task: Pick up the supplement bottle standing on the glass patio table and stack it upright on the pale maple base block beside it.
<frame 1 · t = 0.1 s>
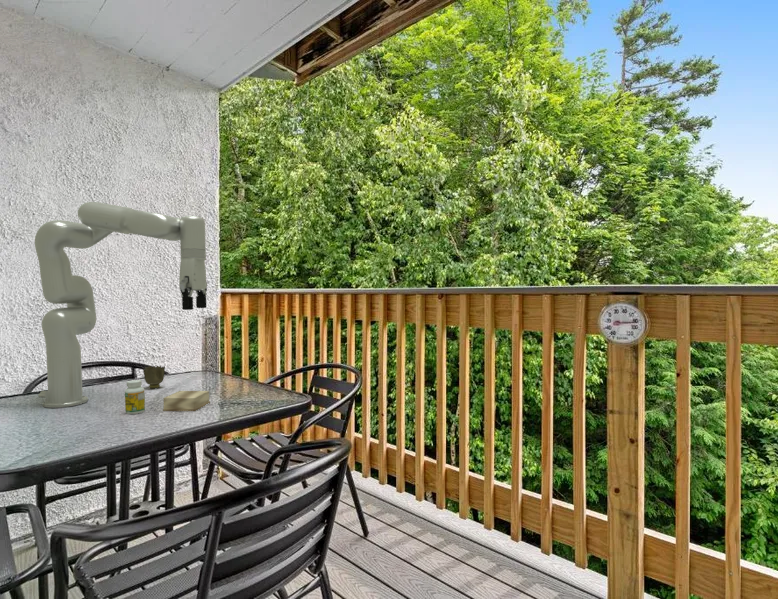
hand: (194, 308, 160), 31 cm above the table, tool pointing down, fingers open, 9 cm apart
supplement bottle: (135, 413, 153), on the table
cup: (154, 388, 188), on the table
base block: (187, 406, 159), on the table
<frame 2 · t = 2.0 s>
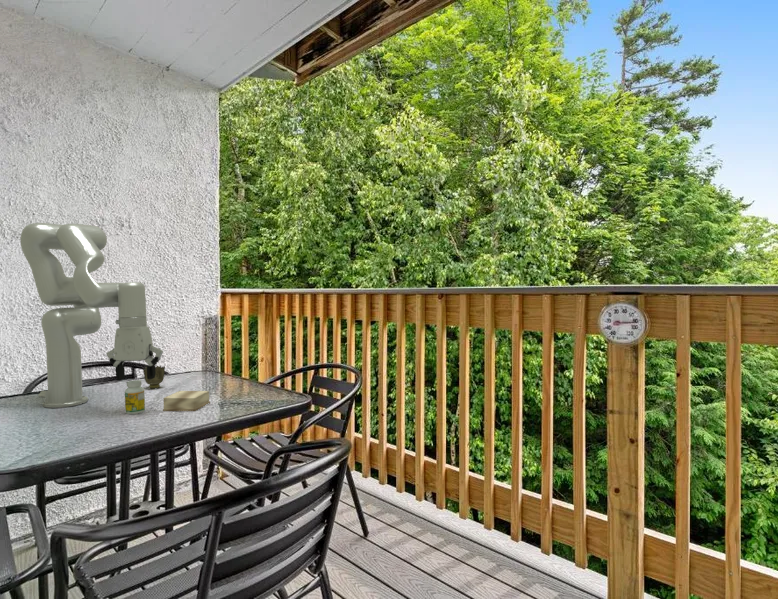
hand: (136, 379, 152), 10 cm above the table, tool pointing down, fingers open, 9 cm apart
nothing on the table moved.
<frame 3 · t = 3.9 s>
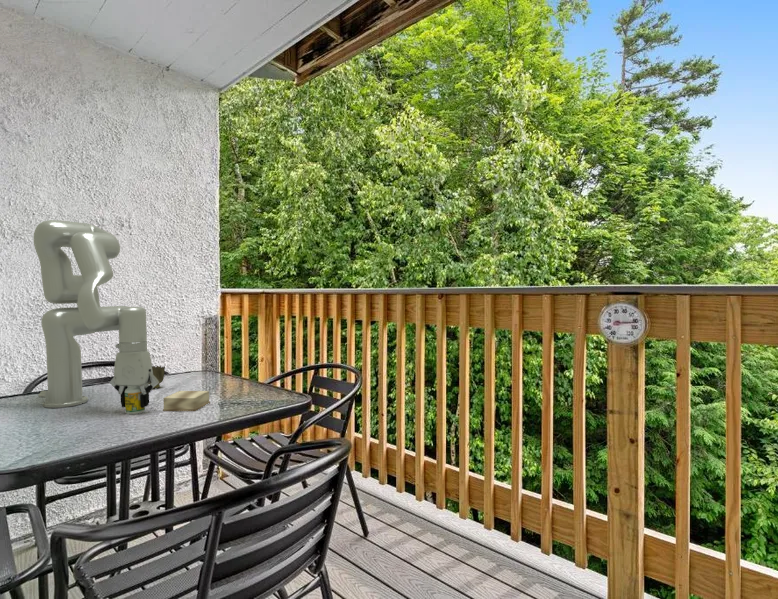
hand: (135, 405, 153), 2 cm above the table, tool pointing down, fingers closed on supplement bottle, 5 cm apart
supplement bottle: (135, 413, 153), on the table, touching gripper
everything else where it was.
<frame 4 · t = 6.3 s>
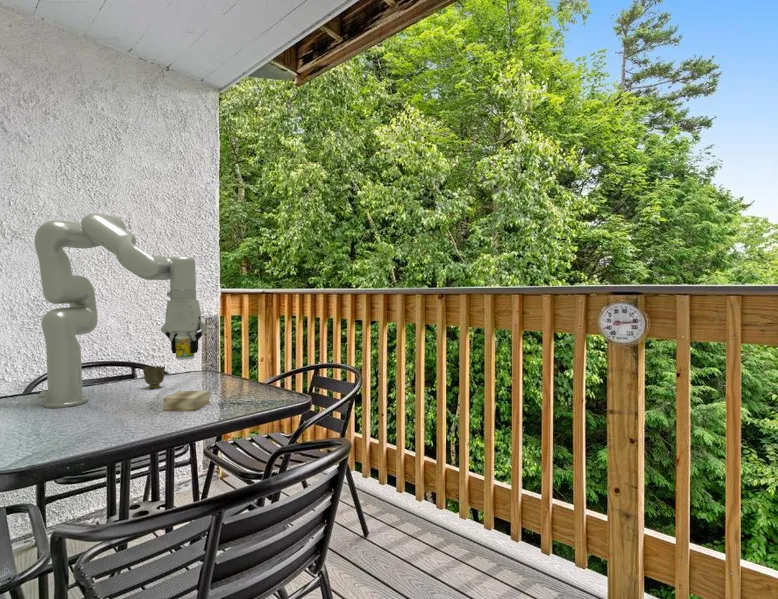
hand: (185, 352, 158), 17 cm above the table, tool pointing down, fingers closed on supplement bottle, 5 cm apart
supplement bottle: (185, 359, 158), point 15 cm above the table, touching gripper
everything else where it was.
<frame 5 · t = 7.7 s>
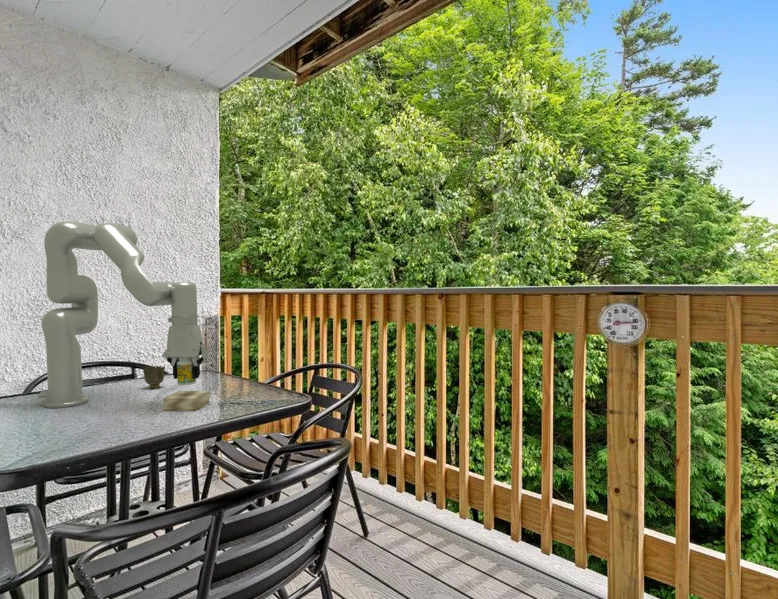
hand: (186, 377, 158), 9 cm above the table, tool pointing down, fingers closed on supplement bottle, 5 cm apart
supplement bottle: (186, 384, 158), point 7 cm above the table, touching gripper
everything else where it was.
when the fingers open (7 cm above the table, at t = 9.0 s): supplement bottle stays where it is, resting on base block.
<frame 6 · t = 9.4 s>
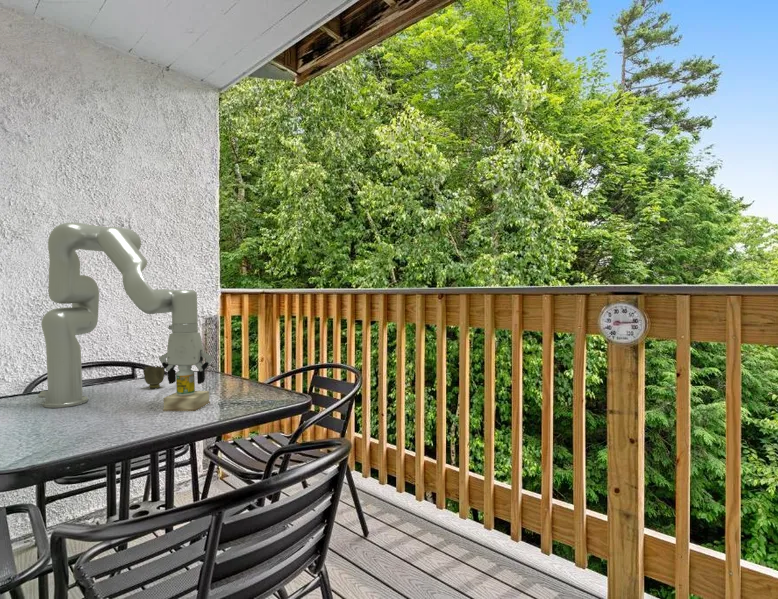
hand: (186, 382, 158), 8 cm above the table, tool pointing down, fingers open, 9 cm apart
supplement bottle: (185, 395, 159), point 4 cm above the table, touching base block
everything else where it was.
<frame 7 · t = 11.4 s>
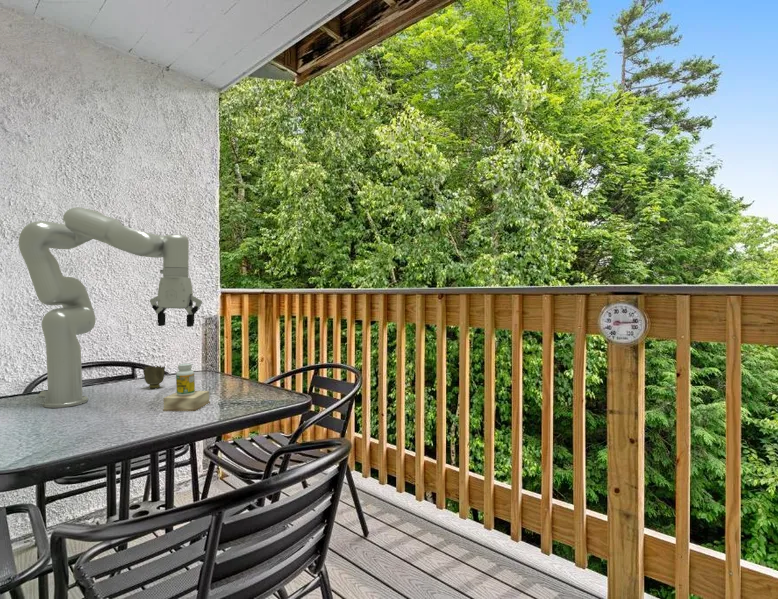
hand: (175, 326, 162), 25 cm above the table, tool pointing down, fingers open, 9 cm apart
nothing on the table moved.
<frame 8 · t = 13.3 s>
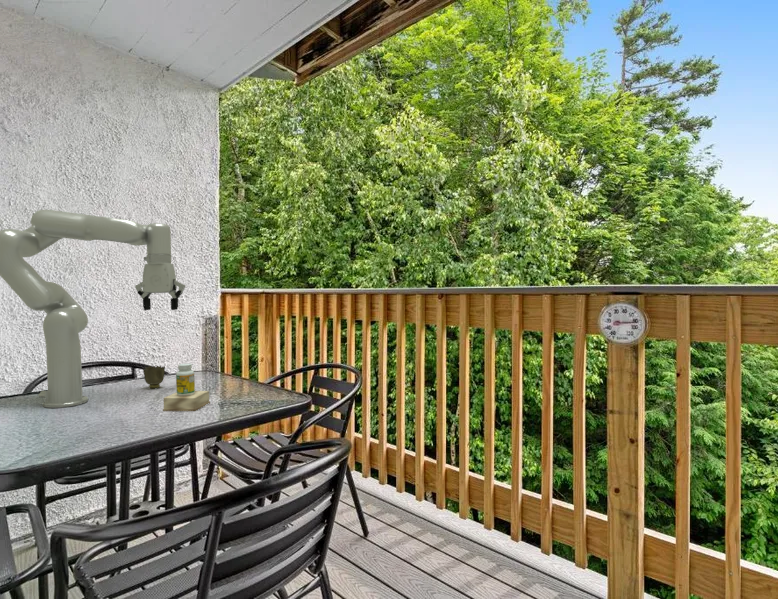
hand: (160, 309, 172), 30 cm above the table, tool pointing down, fingers open, 9 cm apart
nothing on the table moved.
at the end: supplement bottle inside the target area on the base block (0.3 cm from its centre), point 3.8 cm above the base block's base; supplement bottle tilted 0°; the gripper is holding nothing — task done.
